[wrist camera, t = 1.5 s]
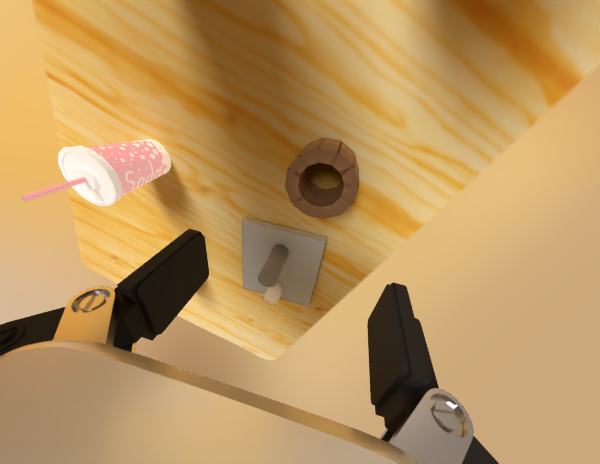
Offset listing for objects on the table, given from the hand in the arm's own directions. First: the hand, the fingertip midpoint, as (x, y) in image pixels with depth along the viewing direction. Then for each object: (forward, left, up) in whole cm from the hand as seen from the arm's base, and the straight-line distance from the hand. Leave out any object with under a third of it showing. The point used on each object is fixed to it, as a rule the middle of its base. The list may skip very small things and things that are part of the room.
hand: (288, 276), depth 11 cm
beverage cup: (+3, -23, -18) cm, 29 cm away
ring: (0, 0, -17) cm, 17 cm away
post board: (+16, -4, -17) cm, 24 cm away
